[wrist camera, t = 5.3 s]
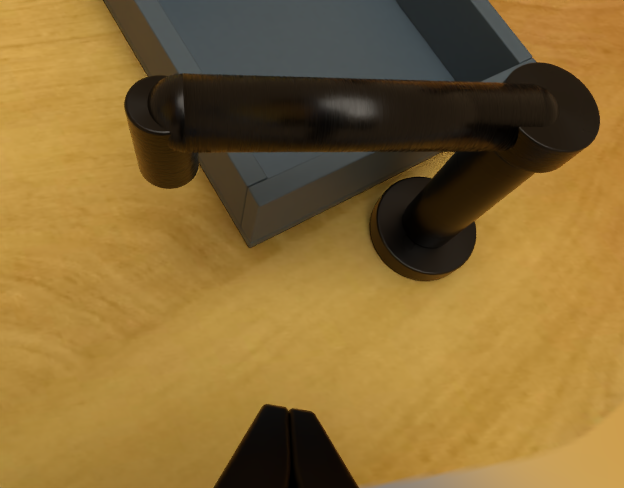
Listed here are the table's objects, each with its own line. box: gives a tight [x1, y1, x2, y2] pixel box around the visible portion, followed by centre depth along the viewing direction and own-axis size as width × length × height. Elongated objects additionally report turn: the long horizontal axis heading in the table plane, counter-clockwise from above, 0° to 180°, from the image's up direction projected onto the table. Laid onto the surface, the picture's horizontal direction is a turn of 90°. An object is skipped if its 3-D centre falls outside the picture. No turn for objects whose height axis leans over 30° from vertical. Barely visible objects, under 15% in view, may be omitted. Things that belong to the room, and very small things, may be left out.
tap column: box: [370, 151, 534, 281], centre depth 19 cm, size 4×4×8 cm
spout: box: [124, 62, 600, 189], centre depth 14 cm, size 12×3×3 cm, turn 97°
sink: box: [103, 0, 536, 248], centre depth 22 cm, size 15×14×4 cm
